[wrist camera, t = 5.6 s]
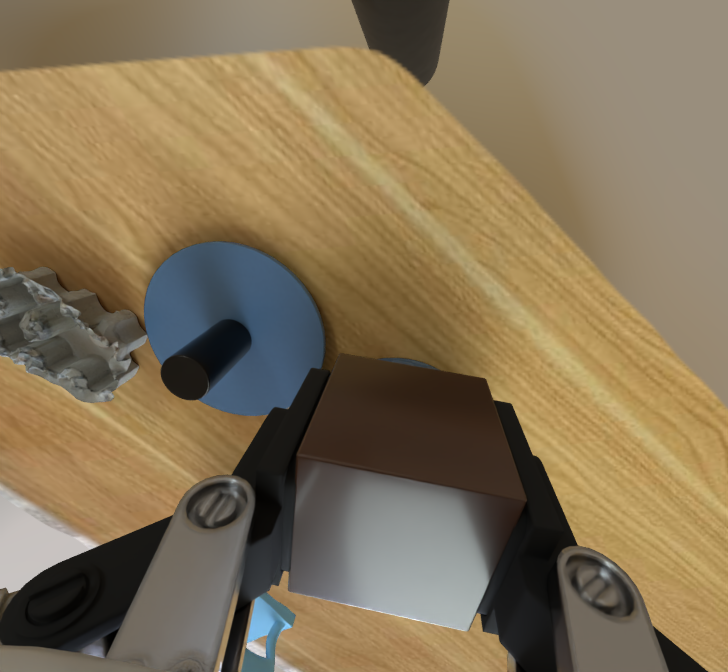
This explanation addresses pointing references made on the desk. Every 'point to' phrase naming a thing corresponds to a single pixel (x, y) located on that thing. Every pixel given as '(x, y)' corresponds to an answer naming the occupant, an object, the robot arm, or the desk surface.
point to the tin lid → (232, 328)
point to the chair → (266, 632)
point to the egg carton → (66, 335)
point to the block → (403, 492)
